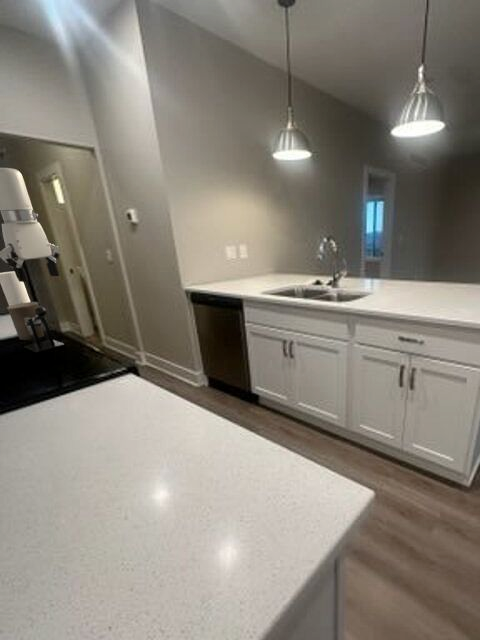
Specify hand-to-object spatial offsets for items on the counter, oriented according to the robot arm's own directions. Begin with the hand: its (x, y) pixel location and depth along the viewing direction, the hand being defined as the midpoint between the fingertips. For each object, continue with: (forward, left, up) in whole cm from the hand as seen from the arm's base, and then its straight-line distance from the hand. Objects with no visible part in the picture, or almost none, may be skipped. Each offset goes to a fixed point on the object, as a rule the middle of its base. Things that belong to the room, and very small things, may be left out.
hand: (40, 278), depth 104 cm
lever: (-7, +11, -15) cm, 20 cm away
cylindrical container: (-20, +44, -26) cm, 55 cm away
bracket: (-9, +16, -26) cm, 32 cm away
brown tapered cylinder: (-16, +33, -26) cm, 45 cm away
